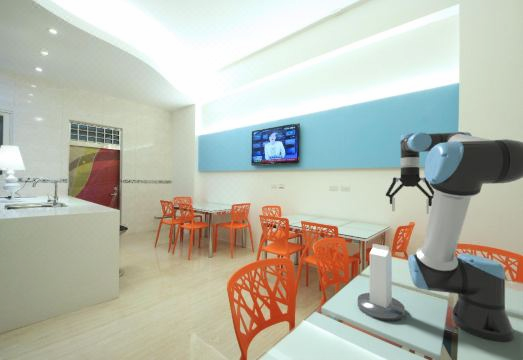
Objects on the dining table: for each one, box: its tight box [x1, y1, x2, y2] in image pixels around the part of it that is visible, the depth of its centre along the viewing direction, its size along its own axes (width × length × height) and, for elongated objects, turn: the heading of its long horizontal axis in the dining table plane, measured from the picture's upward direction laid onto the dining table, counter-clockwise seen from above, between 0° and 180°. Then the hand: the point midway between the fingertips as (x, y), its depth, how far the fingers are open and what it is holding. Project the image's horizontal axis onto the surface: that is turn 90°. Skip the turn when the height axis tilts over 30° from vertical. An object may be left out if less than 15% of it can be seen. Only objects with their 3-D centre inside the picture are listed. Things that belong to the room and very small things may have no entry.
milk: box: [369, 243, 393, 308], centre depth 90 cm, size 6×6×22 cm
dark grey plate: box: [357, 292, 406, 322], centre depth 90 cm, size 16×16×2 cm
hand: (409, 212), depth 111 cm, fingers open, 13 cm apart
